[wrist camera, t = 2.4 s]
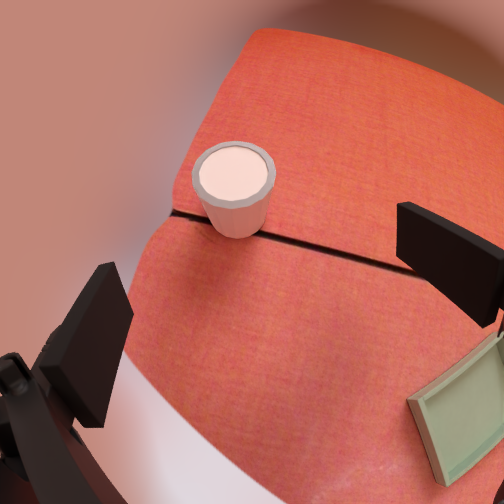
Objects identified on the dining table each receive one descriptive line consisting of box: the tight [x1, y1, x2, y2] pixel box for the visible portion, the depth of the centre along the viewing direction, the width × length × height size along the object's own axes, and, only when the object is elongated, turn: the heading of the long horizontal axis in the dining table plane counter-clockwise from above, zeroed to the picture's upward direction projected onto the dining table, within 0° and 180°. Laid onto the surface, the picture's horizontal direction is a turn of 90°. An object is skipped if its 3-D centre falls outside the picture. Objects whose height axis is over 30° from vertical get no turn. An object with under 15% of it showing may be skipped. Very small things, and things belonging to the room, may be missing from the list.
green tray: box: [407, 331, 504, 487], centre depth 22 cm, size 13×11×2 cm
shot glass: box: [192, 141, 276, 239], centre depth 27 cm, size 7×7×7 cm
